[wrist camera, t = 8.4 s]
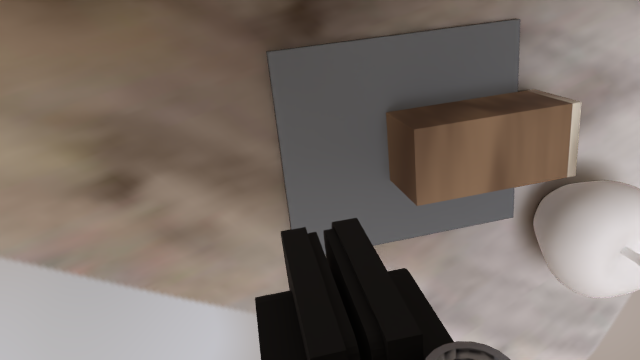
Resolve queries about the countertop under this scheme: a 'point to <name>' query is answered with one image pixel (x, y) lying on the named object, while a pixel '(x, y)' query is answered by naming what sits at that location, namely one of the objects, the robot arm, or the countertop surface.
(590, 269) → the plain white apple
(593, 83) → the countertop surface
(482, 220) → the mat
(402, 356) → the robot arm
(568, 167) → the block
